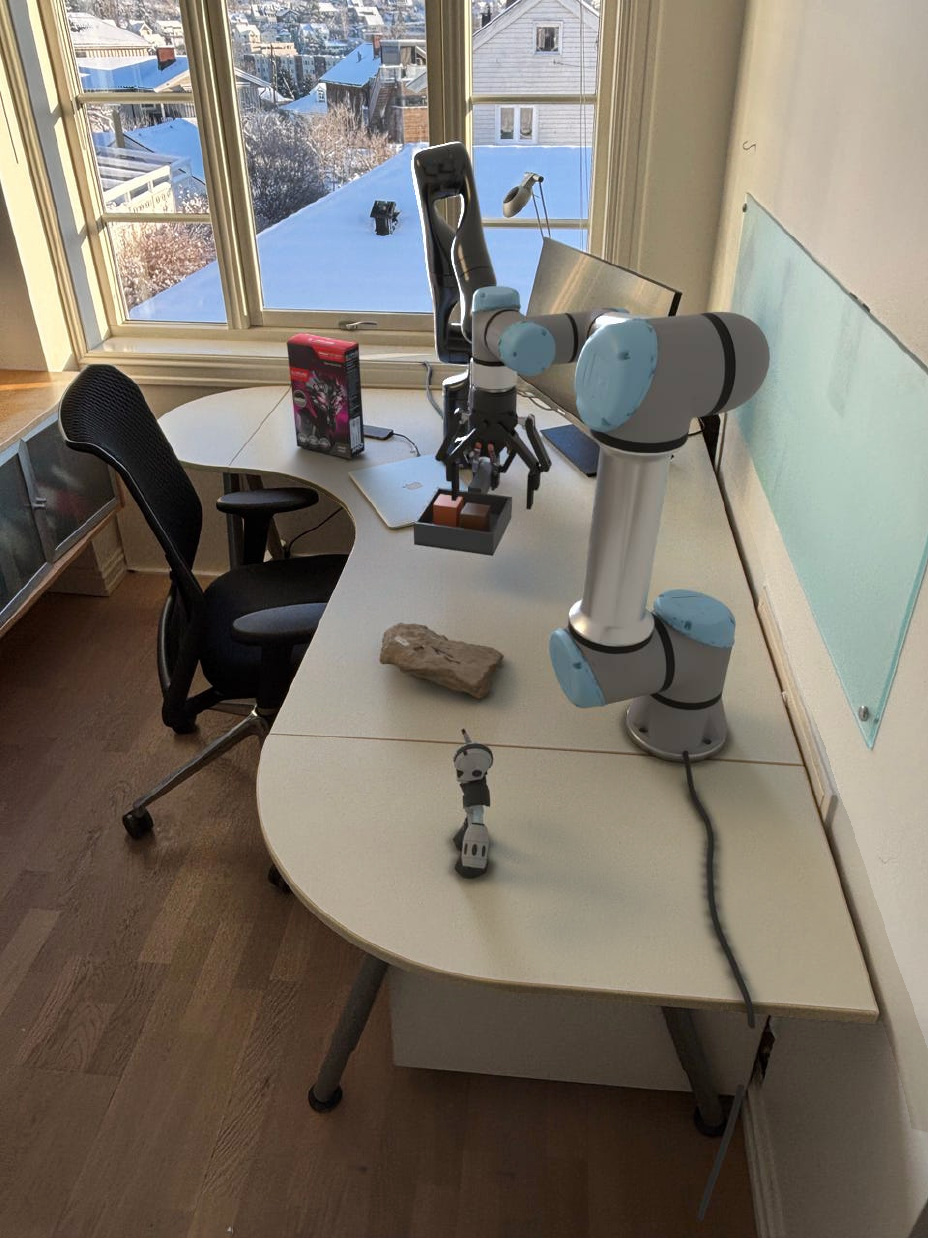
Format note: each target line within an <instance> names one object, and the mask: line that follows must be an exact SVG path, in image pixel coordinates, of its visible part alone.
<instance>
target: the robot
mask: <svg viewBox="0 0 928 1238" xmlns="http://www.w3.org/2000/svg"><path fill="white" fill-rule="evenodd" d="M461 734H462V737H463V739H464V742H465V744H463V745H461V746H460V747H459V748H458V749H457V750H456V751H455V753H454V756H453V757H452V760H453V768H455V772H456V774H455V775H456V781H457V782H458V783H459V786H460V789H461V791H462V793H463V794H462V809H464V812H465V814H466V817H465V818H464V821H463V823H462V826H461V827H460V829H459V830H458V831H457V833H456V834H455V835H454V837H453V838H452V841H453V843H454V846H455V847H456V849H457V850H459V851H460V853H459V855H458V858H457V859H456V863H455V865H454V870H455V871H456V872H457V873H458V874H459V875H460V876H461V877H464V878H468V879H472V878H477V877H479V876H481V875H483V874H486V873H487V872H488V867H489V863H490V862H489V848H490V834H489V831H488V826H486V824H485V823H484V818H483V817H484V816H483V815H484V813H485V812H484V810H485V809H484V806H485V807H487V808H491V792H490V788H489V785H488V784H487V775H488V771H489V769H491V768H492V766H493V764H494V755H493V751H492V750H491V749H490V747H488V746H487V745H486V744H484V743H482V742H479V741H476V740H475V741H472V740H471V738H470V736H469V735H468V733H467V730H466V729H465V728H462V729H461Z"/></svg>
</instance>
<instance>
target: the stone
mask: <svg viewBox="0 0 928 1238" xmlns="http://www.w3.org/2000/svg"><path fill="white" fill-rule="evenodd" d="M381 642H382V646H381V648H380V654H379V662H380V663H379V664H381V665H393V666H395V667H397V668H398V669H399V670H400V672H402V673H404V674H409V675H413V676H414V677H417V678H422V679H427V680H428V681H431V682H433V683H436V684H438V685H441V686H443V687H446V688H448V689H450V690H452V691H455V692H465V693H467V694H469V695H471V696H472V697H474V698H476V699H484V698H486V697H487V695H488V694H489V691H490V689H491V687H492V680H493V678H494V676H495V673H496V672H497V669H498V668H499V666H500V663H501V662H502V661H503V659H504V658H505V655H504V654H503V653H502V652H500V651H498V650H497V649H495V648H494V647H490V646H486V645H480V644H474V643H468V642H465V641H462V640H460V641H458V640H453V639H452V640H451V639H448V638H447V636H446V635H443V634H437V632H435V630H432V629H430V628H429V626H427V625H423V624H418V623H403V622H399V623H397V624H394V625H393V626H391V627H389V628H388V629H386V630H385V631H384V633H383V635H382V638H381Z"/></svg>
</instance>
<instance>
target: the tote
mask: <svg viewBox="0 0 928 1238" xmlns="http://www.w3.org/2000/svg"><path fill="white" fill-rule="evenodd" d="M491 480H492V467H491V464H490V461H481V464H480V467H479V469H478V471H477V472H476V474H475V476H474V477H473V479H471V481H470V482H469V484H468V486H467V490H461V489H459V497H463V509H464V507H465V505H466V503H467V502H468V503H475V504H483V505H490V532H485V531H478V530H471V529H463V528H456V527H449V526H442V525H434V513H433V504H434V503H435V501H436V500H437V498H438V497H439V495H440V494H444V495H451V488H448V487H447V488H445V487H439V486H437V487H436V488H435V490H434V491H433V492H432V495H430V497H429V499H428V500H427V501H426V503H425V504H424V506H423V508H422V510H420V513H419V514H418V515H417V517H416V518H415V520H414V522H413V545H414V546H422V547H428V548H429V547H430V548H435V549H442V550H449V551H455V552H463V553H470V554H476V555H482V556H483V555H484V556H489V557H490V556H491V557H494V555H495V553H496V551H497V549H498V547H499V544H500V543H501V541H502V539H503V537H504V534H505V532H506V530H507V529H508V526H509V524H510V522H511V520H512V518H513V517H512V516H513V496H508V495H501V494H492V493H489V491H490V490H491Z"/></svg>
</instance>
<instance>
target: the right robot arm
mask: <svg viewBox="0 0 928 1238" xmlns="http://www.w3.org/2000/svg"><path fill="white" fill-rule="evenodd" d="M520 297H521V296H520V293H519V291H518V290H517V289H515V288H512V287H511V286H510V287H509V286H501V285H497V286H491V287H484V288H480V289H478V290H477V291H476V292H475V293H474V295H473V305H472V312H471V315H472V383H473V385H474V386H473V387H472V411H471V412H466V411H463V409H462V408H458V409H457V410H456V411H455V413H454V414H453V421H452V426H451V428H450V430H449V431H448V433H447V435H446V437H445V439H444V441H443V440H442V443H441V445H440V447H439V449H438V450H437V453H436V455H435V456H434V459H435V461H437V462H442V463H443V462H444V463H445V464H444V463H443V464H444V465H445V480H446V482H450V483H451V488H450V489H451V496H452V501H456V500H457V498H458V496H459V490H460V468H459V461H455V460H456V459H457V458H458V457H459V456H460V455H461V454H462V453H463V452H464V451H465V450H466V449H467V448H468V447H469V446H470V444H471V443H472V442H474V441H475V440H476V439H477V437H478V436H480V437H481V438H483V440H491V439H493V440H495V441H502V440H504V439H505V440H506V442H507V443H508V444H509V445H511V446H512V448H513V449H514V450H515V451H516V453H517V454H516V455H517V456H518V457H519V458H520V459H521V461H522V462H523V463H524V464H525V466H526V467H527V469H528V470H529V471H528V473H527V480H526V481H527V483H526V507H525V509H526V510H531V509H532V507H533V505H534V497H535V491H536V492H538V490H539V489H540V486H541V475H542V473H548V472H550V469H551V468H552V465H553V463H552V460H551V458H550V456H549V454H548V451H547V449H546V447H545V444H544V443H543V441H542V438H541V436H540V434H539V432H538V431H539V430H538V429H537V427H536V416H535V414H532V413H530V414H528V416H519V415H518V413H517V403H518V402H517V401H518V400H517V399H518V388H517V384H518V374H519V375H520V376H524V377H535V376H539V375H540V374H542V373H544V372H545V371H546V370H547V369H549V368H550V367H551V366H555V365H556V366H557V365H567V364H572V363H576V368H575V374H574V394H575V395H577V396H576V400H575V405H576V409H577V412H578V415H579V417H580V419H581V421H582V422H583V424H584V425H585V426H586V427H587V428H589V435H590V437H591V438H592V439H593V441H594V442H595V443H596V444H597V445H598V446H599V454H598V463H597V470H596V471H597V472H596V479H595V487H594V494H593V495H594V496H593V504H592V512H591V522H590V528H589V529H590V530H589V537H588V538H589V539H588V546H587V553H586V555H587V556H586V564H585V570H584V571H585V572H584V578H583V579H584V581H583V589H582V597H581V599H579V600H578V601H576V602H575V603H574V604H573V605H572V606H571V608H570V610H569V613H568V621H567V627H564V628H563V627H559V628H558V629H556V630H555V631H553V632H552V633H551V634H550V637H549V641H548V642H549V644H548V645H549V655H550V661H551V665H552V668H553V669H552V670H553V672H554V675H555V677H556V680H557V683H558V685H559V687H560V689H561V691H562V692H563V694H564V696H565V697H566V698H567V700H568V701H569V702H570V703H571V705H573V706H575V707H576V708H579V709H591V708H596V707H601V708H603V707H605V706H607V705H612V704H616V703H619V702H624V701H627V700H632V701H631V702H630V704H629V706H628V708H627V712H626V719H625V728H626V732H627V734H628V736H629V738H630V739H631V741H632V742H634V744H636V745H637V746H638V747H639V748H640V749H641V750H643V751H645V752H646V753H648V754H650V755H651V756H654V757H656V758H659V759H662V760H666V761H670V762H675V763H684V766H685V773H686V780H687V781H686V782H687V787H688V791H689V794H690V797H691V799H692V802H693V804H694V805H695V808H696V810H697V811H698V813H699V815H700V816H701V818H702V821H703V823H704V826H705V829H706V834H707V835H706V836H707V851H706V852H707V853H706V885H707V901H708V907H709V912H710V916H711V920H712V924H713V927H714V928H713V929H714V931H715V934H716V936H717V939H718V941H719V943H720V947H721V948H722V951H723V952H724V955H725V957H726V959H727V961H728V963H729V966H730V968H731V971H732V973H733V976H734V978H735V981H736V984H737V986H738V989H739V990H740V993H741V996H742V999H743V1001H744V1004H745V1005H744V1006H745V1011H746V1018H747V1027H748V1028H750V1029H755V1028H756V1019H755V1012H754V1006H753V1001H752V998H751V995H750V993H749V990H748V988H747V985H746V983H745V981H744V979H743V976H742V973H741V971H740V968H739V966H738V963H737V961H736V959H735V957H734V954H733V952H732V950H731V948H730V946H729V944H728V941H727V938H726V937H725V934H724V932H723V930H722V926H721V924H720V919H719V916H718V912H717V907H716V898H715V887H714V869H713V868H714V867H713V866H714V853H715V851H714V850H715V837H714V831H713V826H712V823H711V821H710V818H709V816H708V813H707V812H706V810H705V809H704V807H703V806H702V803H701V802H700V799H699V797H698V795H697V793H696V790H695V786H694V785H695V784H694V779H693V772H692V765H691V763H694V762H700V761H703V760H706V759H709V758H711V757H714V755H716V754H718V752H720V751H721V750H722V748H723V747H724V744H725V743H726V740H727V739H726V738H727V733H728V721H727V716H726V712H725V708H724V707H725V706H724V701H723V692H724V686H725V682H726V678H727V672H728V668H729V664H730V659H731V654H732V651H733V647H734V645H735V642H736V640H735V634H736V627H737V626H736V617H735V616H734V614H733V612H732V611H731V609H730V608H729V607H728V606H727V605H726V604H724V603H723V602H722V601H720V600H719V599H717V598H715V597H713V596H710V595H709V594H706V593H703V592H699V591H696V590H692V589H683V588H679V589H676V588H675V589H668V590H665V591H663V592H661V593H660V594H659V595H658V597H656V599H655V601H654V602H653V609H652V610H649V609H648V608H647V602H648V598H649V591H650V585H651V580H652V579H651V578H652V574H653V567H654V562H655V555H656V550H657V544H658V539H659V533H660V527H661V522H662V521H661V520H662V516H663V515H662V514H663V507H664V504H665V503H664V502H665V496H666V491H667V486H668V478H669V474H670V468H671V463H672V462H671V461H672V455H674V454H675V453H677V452H678V451H680V450H682V449H683V448H684V447H685V446H686V445H687V443H688V439H689V433H690V428H691V423H692V420H693V419H697V418H702V417H709V416H715V415H721V414H725V413H727V412H730V411H733V410H735V409H737V408H739V407H741V406H742V405H744V404H745V403H747V402H748V401H749V400H750V399H751V398H753V397H754V396H755V395H756V393H757V392H758V390H759V389H760V388H761V387H762V385H763V383H764V382H765V379H766V378H767V375H768V371H769V368H770V360H771V354H770V347H769V343H768V339H767V337H766V336H765V334H764V332H763V331H762V329H761V327H760V326H759V325H758V324H756V323H755V322H754V321H753V320H751V319H750V318H748V317H746V316H744V315H742V314H739V313H736V312H730V311H729V312H728V311H710V312H709V311H708V312H702V313H692V314H691V313H690V314H681V315H680V314H679V315H672V316H658V315H657V316H655V315H647V314H638V313H630V311H629V310H628V309H627V308H624V307H603V308H601V309H593V310H592V309H591V310H583V311H573V312H561V313H550V314H538V315H530V316H529V315H525V314H524V313H521V312H520V311H521V308H522V305H521V299H520ZM466 420H469V421H470V423H471V424H472V426H473V427H474V429H473V431H472V432H471V433H470V434H469V435H468V436H467V437H466V438H465V439H464V440H463V441H462V442H461V443H460V444H459V446H458V447H457V448H456V449H455V450H454V451H453V452H452V453H451V454H448V453H446V452H447V450H448V448H449V446H450V444H451V443H452V441H453V439H454V437H455V435H456V433H457V431H458V429H459V427H460V426H461V424H464V423H465V421H466ZM518 425H519V426H520V427H521V429H522V430H523V431H525V433H526V436H527V439H528V441H529V443H530V446H531V447H532V450H533V452H534V453H532V451H531V450H530V448H529V447H528V446H527V445H526V443H525V442H524V441H523V440H522V438H521V436H520V435H519V433H518V431H517V430H516V427H517V426H518ZM534 454H535V455H534ZM454 461H455V462H454ZM744 1091H745V1085H744V1084H739V1083H737V1085H736V1090H735V1094H734V1098H733V1102H732V1106H731V1110H730V1114H729V1117H728V1121H727V1124H726V1127H725V1130H724V1133H723V1137H722V1140H721V1143H720V1146H719V1149H718V1152H717V1155H716V1158H715V1159H714V1160H715V1161H714V1164H713V1167H712V1169H711V1172H710V1174H709V1178H708V1181H707V1183H706V1184H707V1185H706V1187H705V1190H704V1193H703V1197H702V1200H701V1202H700V1206H699V1210H698V1213H697V1219H698V1220H699V1221H703V1220H704V1218H705V1213H706V1211H707V1207H708V1205H709V1201H710V1199H711V1195H712V1192H713V1189H714V1186H715V1183H716V1181H717V1178H718V1175H719V1172H720V1170H721V1166H722V1165H723V1161H724V1158H725V1156H726V1152H727V1151H728V1150H727V1149H728V1146H729V1144H730V1141H731V1138H732V1134H733V1131H734V1128H735V1125H736V1121H737V1117H738V1114H739V1111H740V1107H741V1102H742V1098H743V1094H744Z"/></svg>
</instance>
